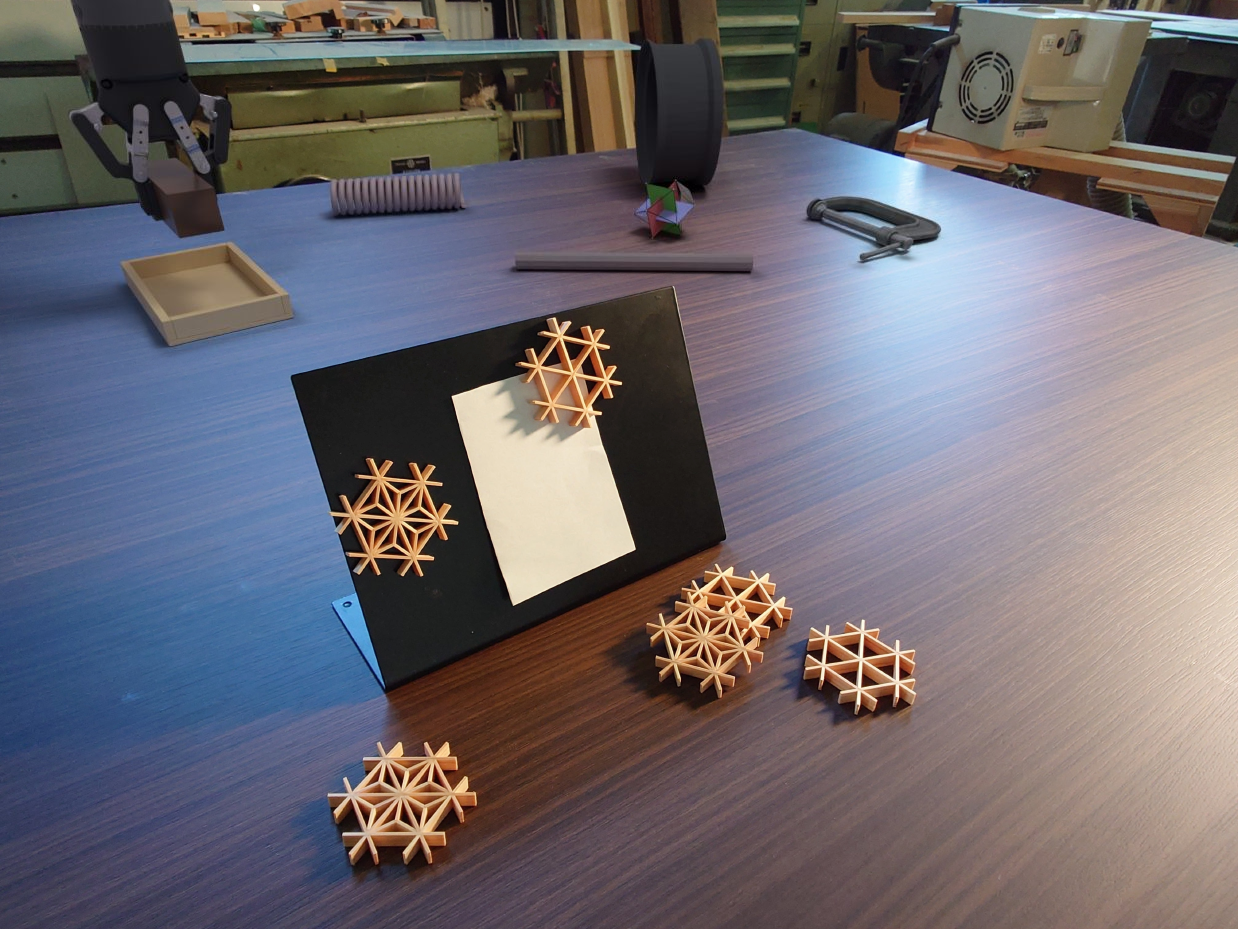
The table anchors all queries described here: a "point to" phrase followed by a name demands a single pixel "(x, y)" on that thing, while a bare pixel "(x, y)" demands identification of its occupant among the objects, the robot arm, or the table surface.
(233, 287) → the tray
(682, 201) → the geometric puzzle
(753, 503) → the table surface
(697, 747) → the table surface
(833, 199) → the c clamp
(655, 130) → the wheel rim
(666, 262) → the metal rod
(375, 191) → the coil
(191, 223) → the block
